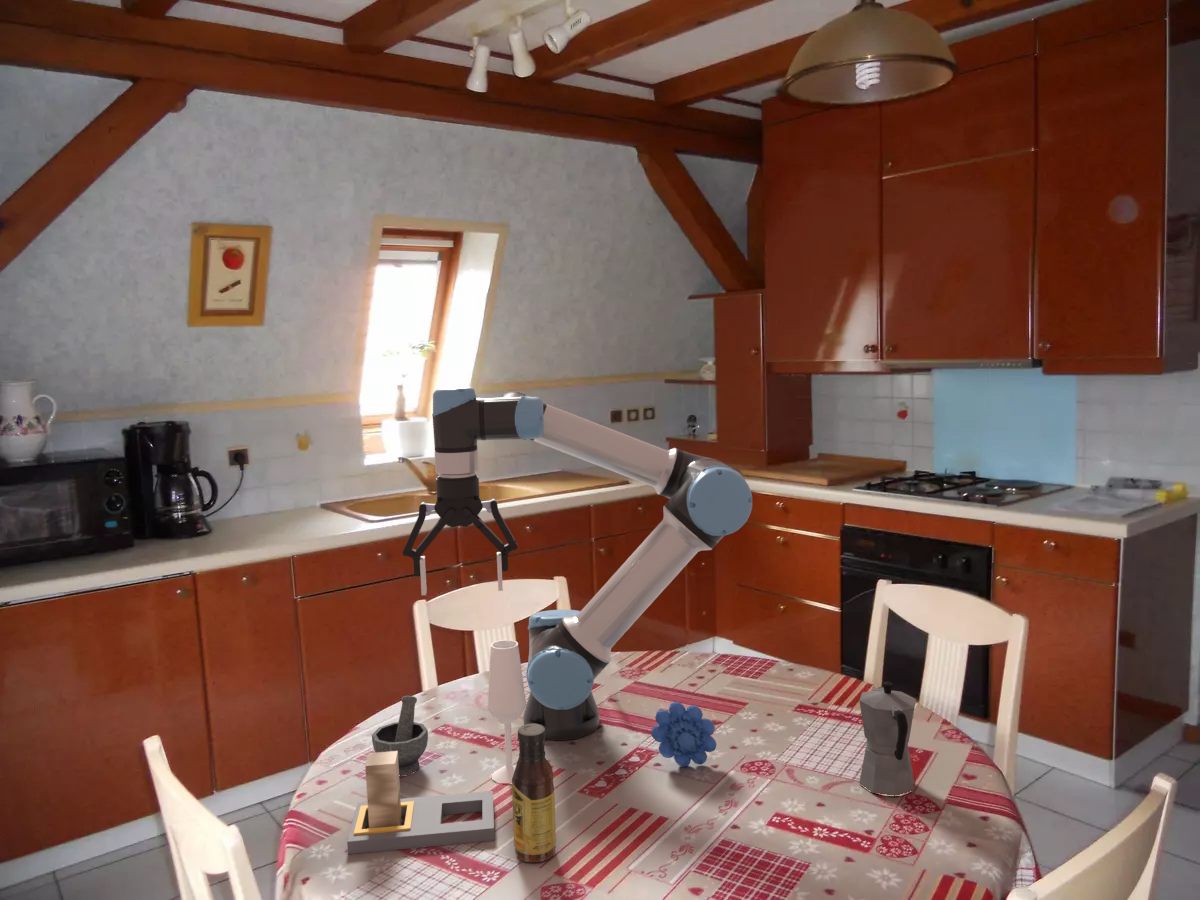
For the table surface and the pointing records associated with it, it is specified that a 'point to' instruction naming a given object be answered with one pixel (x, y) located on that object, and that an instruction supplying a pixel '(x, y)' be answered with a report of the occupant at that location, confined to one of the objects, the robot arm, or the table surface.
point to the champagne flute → (505, 696)
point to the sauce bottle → (533, 798)
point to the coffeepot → (887, 740)
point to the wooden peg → (383, 789)
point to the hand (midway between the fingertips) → (462, 591)
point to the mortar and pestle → (403, 738)
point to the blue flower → (684, 734)
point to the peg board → (425, 824)
